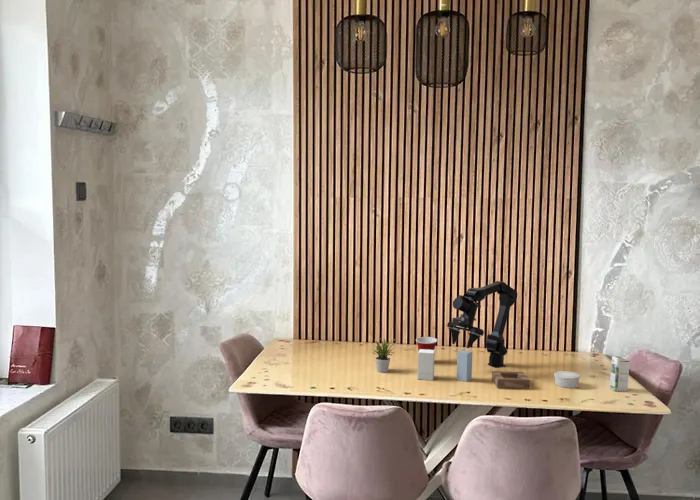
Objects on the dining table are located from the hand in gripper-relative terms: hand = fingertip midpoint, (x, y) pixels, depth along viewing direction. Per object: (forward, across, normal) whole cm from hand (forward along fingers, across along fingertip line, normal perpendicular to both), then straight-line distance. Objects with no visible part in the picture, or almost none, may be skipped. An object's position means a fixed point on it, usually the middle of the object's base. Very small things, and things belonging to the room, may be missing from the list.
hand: (460, 346), depth 318 cm
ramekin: (+4, +41, +29) cm, 50 cm away
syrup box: (-1, +58, +42) cm, 72 cm away
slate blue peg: (+14, +8, -1) cm, 17 cm away
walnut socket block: (+10, +25, +10) cm, 29 cm away
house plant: (+22, -23, -20) cm, 38 cm away
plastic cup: (+12, -24, +6) cm, 28 cm away
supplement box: (+19, -4, -12) cm, 23 cm away
